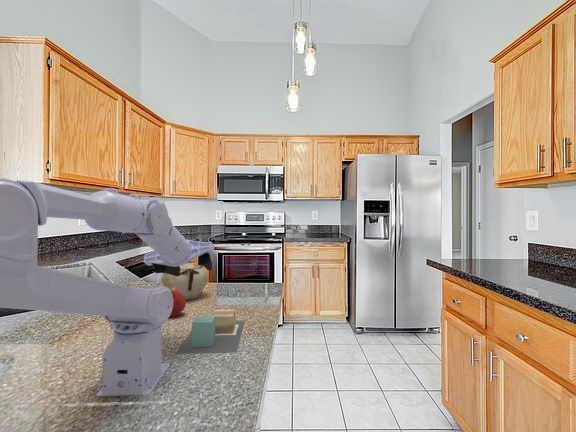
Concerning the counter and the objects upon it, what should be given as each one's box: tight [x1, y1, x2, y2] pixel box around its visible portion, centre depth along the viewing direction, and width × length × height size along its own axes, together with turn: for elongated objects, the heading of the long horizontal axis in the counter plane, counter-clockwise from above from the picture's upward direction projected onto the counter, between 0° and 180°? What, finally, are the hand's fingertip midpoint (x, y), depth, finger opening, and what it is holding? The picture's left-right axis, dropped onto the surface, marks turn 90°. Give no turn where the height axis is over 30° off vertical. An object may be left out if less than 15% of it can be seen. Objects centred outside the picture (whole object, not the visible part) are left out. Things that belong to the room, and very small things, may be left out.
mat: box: [174, 320, 246, 355], centre depth 68 cm, size 18×12×1 cm, turn 3°
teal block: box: [191, 315, 215, 347], centre depth 64 cm, size 4×4×5 cm
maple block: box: [210, 309, 236, 334], centre depth 71 cm, size 5×5×4 cm
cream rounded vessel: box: [161, 260, 209, 300], centre depth 102 cm, size 20×15×15 cm
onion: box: [169, 288, 187, 318], centre depth 81 cm, size 6×6×8 cm
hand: (194, 269), depth 70 cm, fingers open, 7 cm apart
